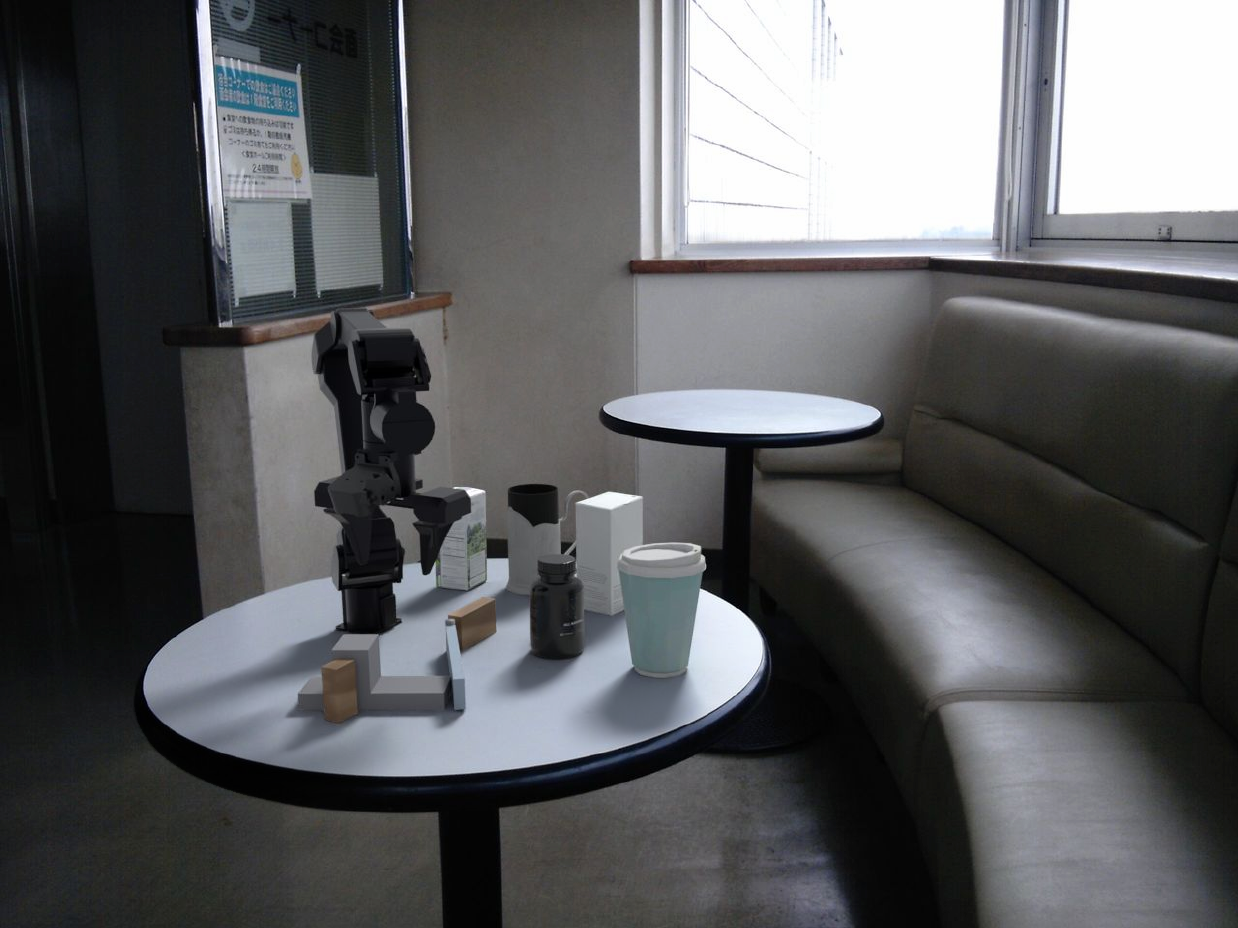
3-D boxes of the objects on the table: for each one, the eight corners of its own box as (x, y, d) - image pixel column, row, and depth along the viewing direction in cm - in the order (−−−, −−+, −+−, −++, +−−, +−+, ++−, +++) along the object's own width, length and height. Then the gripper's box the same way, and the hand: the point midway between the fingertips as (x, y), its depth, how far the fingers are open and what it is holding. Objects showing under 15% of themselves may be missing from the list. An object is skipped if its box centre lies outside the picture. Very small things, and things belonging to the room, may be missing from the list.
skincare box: (609, 594, 158) (608, 490, 155) (646, 602, 154) (646, 495, 151) (574, 609, 151) (572, 501, 148) (612, 617, 147) (611, 507, 144)
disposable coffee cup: (603, 678, 126) (602, 555, 123) (634, 648, 136) (633, 532, 133) (691, 690, 122) (691, 563, 119) (715, 657, 132) (716, 539, 129)
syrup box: (455, 577, 167) (452, 485, 164) (488, 581, 164) (486, 488, 162) (435, 587, 162) (431, 493, 159) (469, 591, 159) (466, 496, 157)
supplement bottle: (577, 662, 131) (576, 567, 129) (523, 658, 132) (521, 564, 130) (590, 643, 138) (589, 552, 135) (539, 639, 139) (536, 550, 137)
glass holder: (495, 584, 163) (492, 487, 160) (576, 568, 171) (574, 476, 168) (523, 598, 156) (520, 497, 153) (605, 582, 164) (604, 485, 161)
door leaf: (454, 710, 117) (453, 675, 116) (446, 649, 135) (445, 619, 134) (465, 709, 117) (464, 674, 116) (455, 648, 135) (454, 618, 134)
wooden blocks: (324, 719, 115) (321, 666, 114) (483, 629, 143) (482, 586, 142) (339, 723, 114) (336, 669, 113) (496, 631, 142) (495, 587, 141)
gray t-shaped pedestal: (298, 710, 118) (294, 650, 117) (312, 692, 123) (308, 634, 121) (444, 710, 118) (441, 649, 116) (451, 692, 123) (449, 633, 121)
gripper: (276, 443, 120) (285, 577, 123) (412, 458, 112) (417, 601, 115) (342, 428, 130) (349, 552, 133) (472, 441, 122) (475, 572, 125)
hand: (394, 569), depth 126 cm, fingers open, 9 cm apart
